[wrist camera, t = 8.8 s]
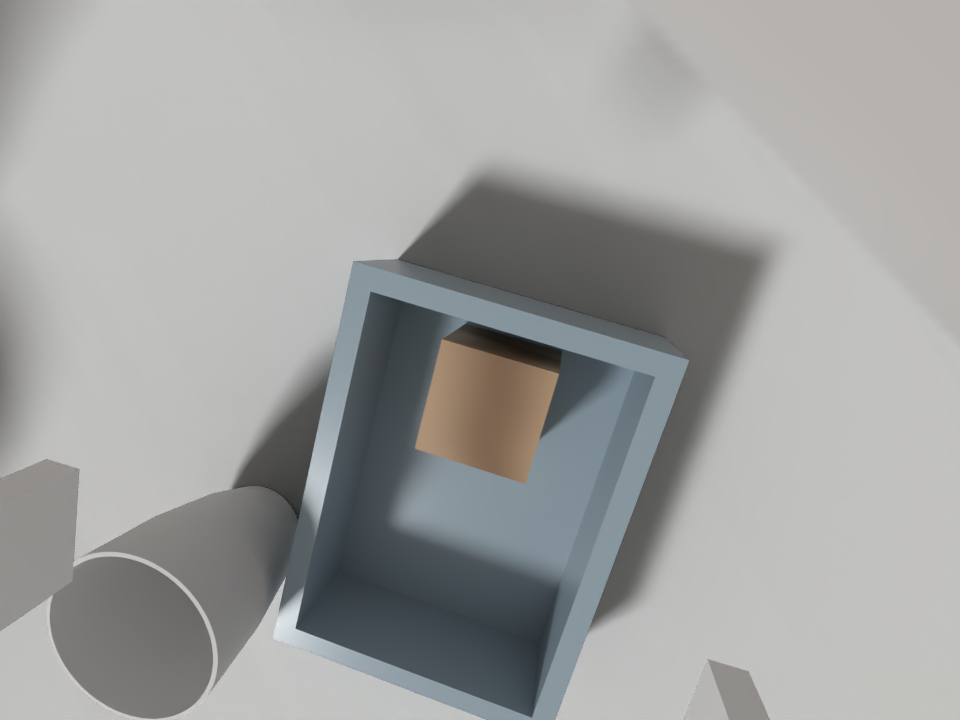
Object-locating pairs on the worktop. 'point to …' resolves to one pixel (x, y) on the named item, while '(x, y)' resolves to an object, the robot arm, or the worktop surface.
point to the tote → (468, 499)
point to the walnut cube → (488, 401)
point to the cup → (172, 602)
